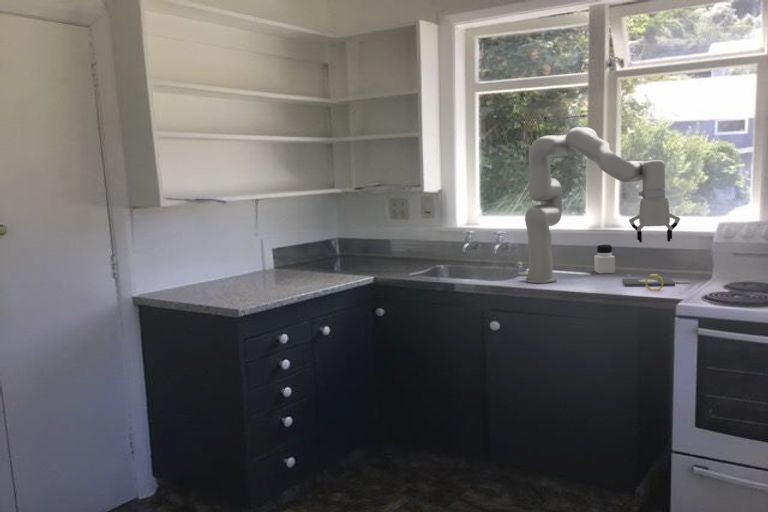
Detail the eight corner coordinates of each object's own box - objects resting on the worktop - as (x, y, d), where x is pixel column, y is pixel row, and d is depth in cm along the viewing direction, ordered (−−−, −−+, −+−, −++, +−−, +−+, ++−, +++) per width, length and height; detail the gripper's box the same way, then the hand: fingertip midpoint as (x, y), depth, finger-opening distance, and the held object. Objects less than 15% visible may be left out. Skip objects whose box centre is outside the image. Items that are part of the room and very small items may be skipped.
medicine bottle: (615, 272, 294) (615, 245, 292) (599, 273, 294) (598, 246, 292) (610, 270, 301) (610, 243, 299) (594, 271, 301) (593, 244, 300)
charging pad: (624, 286, 261) (624, 283, 261) (622, 281, 273) (622, 278, 273) (693, 285, 255) (693, 283, 254) (688, 280, 266) (688, 277, 266)
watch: (645, 291, 251) (644, 275, 251) (646, 290, 254) (645, 274, 253) (663, 290, 248) (661, 274, 248) (664, 289, 251) (662, 273, 250)
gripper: (629, 196, 246) (630, 243, 248) (681, 193, 241) (681, 242, 243) (627, 195, 253) (628, 241, 255) (678, 193, 248) (678, 239, 250)
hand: (654, 241), depth 249 cm, fingers open, 9 cm apart
